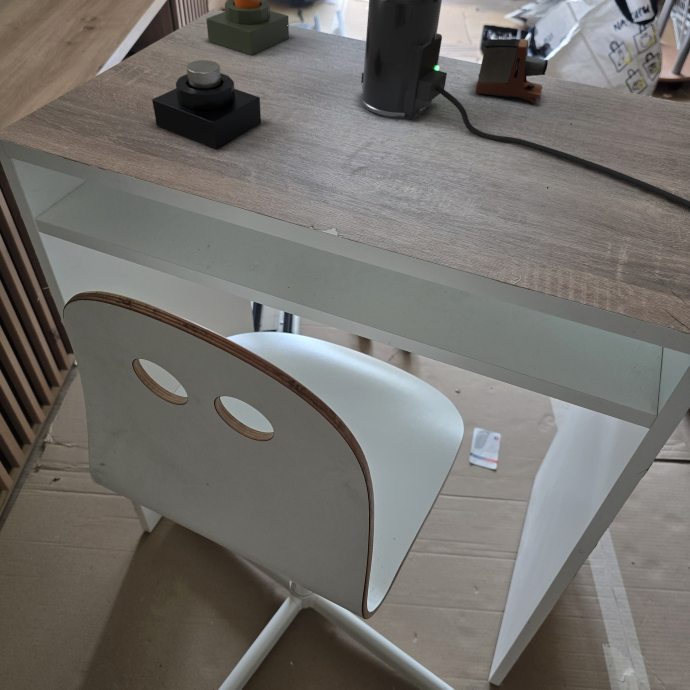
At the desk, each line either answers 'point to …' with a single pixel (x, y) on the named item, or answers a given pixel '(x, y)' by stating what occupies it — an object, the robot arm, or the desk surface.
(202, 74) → the button near
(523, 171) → the desk surface
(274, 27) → the block far
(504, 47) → the electronic device
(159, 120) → the block near
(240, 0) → the button far
